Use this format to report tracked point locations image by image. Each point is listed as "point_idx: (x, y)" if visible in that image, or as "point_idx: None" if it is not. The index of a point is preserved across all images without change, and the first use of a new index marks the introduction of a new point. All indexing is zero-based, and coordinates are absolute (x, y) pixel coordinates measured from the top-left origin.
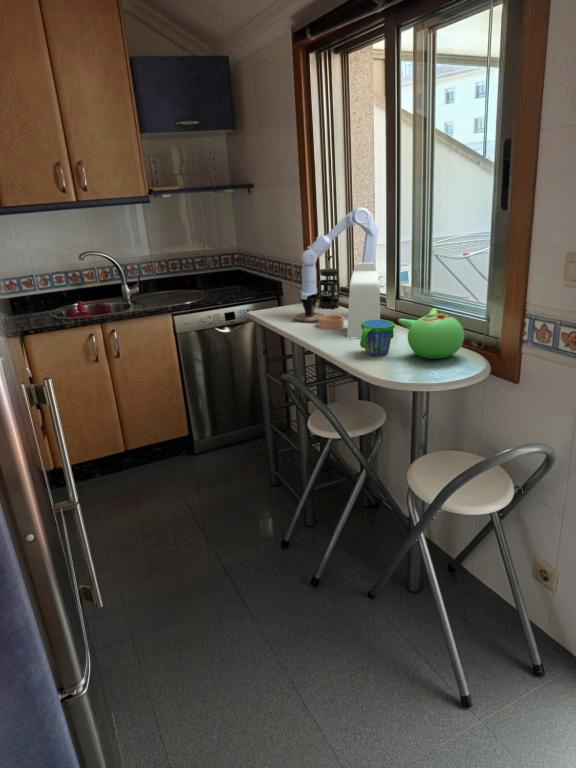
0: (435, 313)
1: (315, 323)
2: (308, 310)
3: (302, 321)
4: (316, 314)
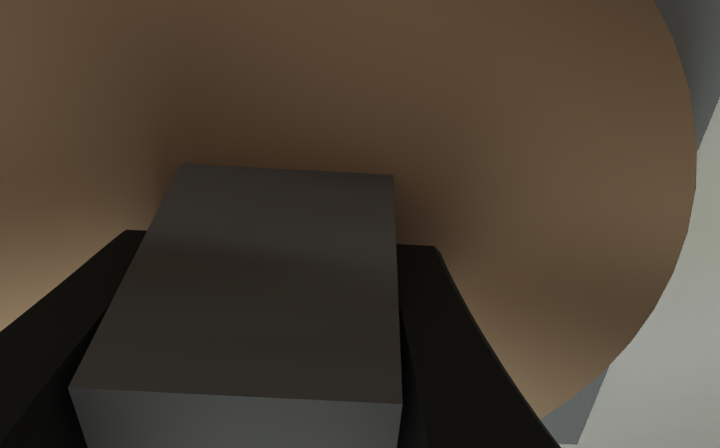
0: None
1: None
2: None
3: None
4: None
